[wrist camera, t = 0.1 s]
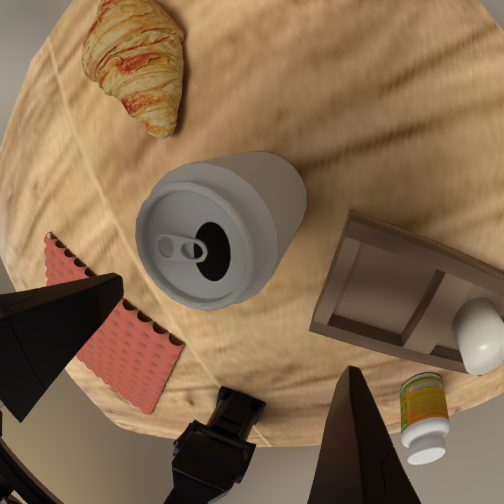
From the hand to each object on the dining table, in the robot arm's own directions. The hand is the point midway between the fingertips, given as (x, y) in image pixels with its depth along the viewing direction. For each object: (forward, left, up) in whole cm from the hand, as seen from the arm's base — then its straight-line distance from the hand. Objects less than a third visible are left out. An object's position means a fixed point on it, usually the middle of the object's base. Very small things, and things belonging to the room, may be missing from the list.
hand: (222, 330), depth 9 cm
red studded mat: (-29, +26, -16) cm, 42 cm away
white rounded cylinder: (-3, -19, -13) cm, 24 cm away
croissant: (+13, +18, -15) cm, 27 cm away
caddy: (-3, -14, -15) cm, 20 cm away
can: (+1, +3, -15) cm, 15 cm away
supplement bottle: (-14, -20, -15) cm, 29 cm away
